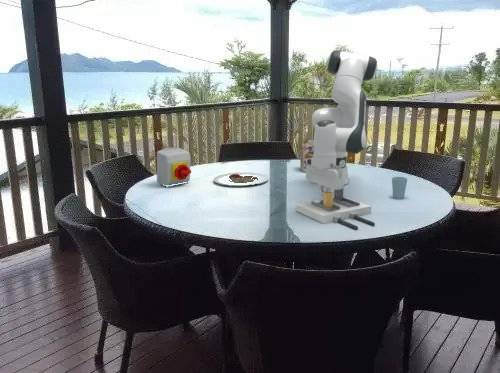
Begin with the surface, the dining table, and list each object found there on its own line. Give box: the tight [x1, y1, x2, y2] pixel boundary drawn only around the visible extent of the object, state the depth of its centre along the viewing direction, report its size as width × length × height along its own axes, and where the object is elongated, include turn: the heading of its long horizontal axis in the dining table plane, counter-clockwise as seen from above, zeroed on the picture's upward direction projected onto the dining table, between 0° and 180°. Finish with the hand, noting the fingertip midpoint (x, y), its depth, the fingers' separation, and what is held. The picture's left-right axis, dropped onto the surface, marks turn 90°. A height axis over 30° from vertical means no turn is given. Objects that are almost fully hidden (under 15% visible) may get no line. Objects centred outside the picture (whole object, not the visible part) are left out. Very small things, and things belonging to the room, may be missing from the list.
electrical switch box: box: [156, 147, 192, 185], centre depth 221 cm, size 14×15×20 cm
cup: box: [391, 176, 408, 200], centre depth 190 cm, size 7×7×9 cm
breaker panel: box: [295, 196, 372, 224], centre depth 171 cm, size 18×24×4 cm
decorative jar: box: [300, 139, 315, 173], centre depth 250 cm, size 12×12×18 cm
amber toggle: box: [322, 191, 334, 208], centre depth 167 cm, size 2×3×6 cm, turn 118°
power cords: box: [332, 212, 376, 230], centre depth 158 cm, size 12×10×2 cm
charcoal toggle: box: [333, 186, 345, 201], centre depth 176 cm, size 2×3×6 cm, turn 118°
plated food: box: [213, 172, 270, 187], centre depth 228 cm, size 30×30×3 cm
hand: (323, 195), depth 169 cm, fingers closed
